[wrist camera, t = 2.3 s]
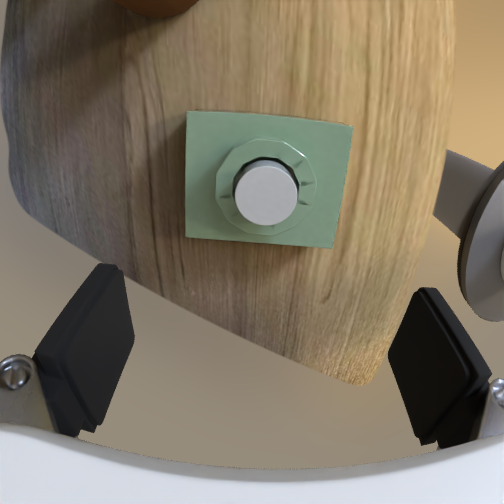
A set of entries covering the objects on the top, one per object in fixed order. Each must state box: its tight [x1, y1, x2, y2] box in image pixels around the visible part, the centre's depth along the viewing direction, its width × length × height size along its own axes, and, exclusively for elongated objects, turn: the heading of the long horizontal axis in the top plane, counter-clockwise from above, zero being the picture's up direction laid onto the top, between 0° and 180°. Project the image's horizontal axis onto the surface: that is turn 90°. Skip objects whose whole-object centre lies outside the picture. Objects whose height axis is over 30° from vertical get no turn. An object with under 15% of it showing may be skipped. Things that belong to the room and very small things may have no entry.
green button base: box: [185, 109, 353, 249], centre depth 23 cm, size 12×10×5 cm
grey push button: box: [235, 160, 298, 225], centre depth 21 cm, size 4×4×2 cm
